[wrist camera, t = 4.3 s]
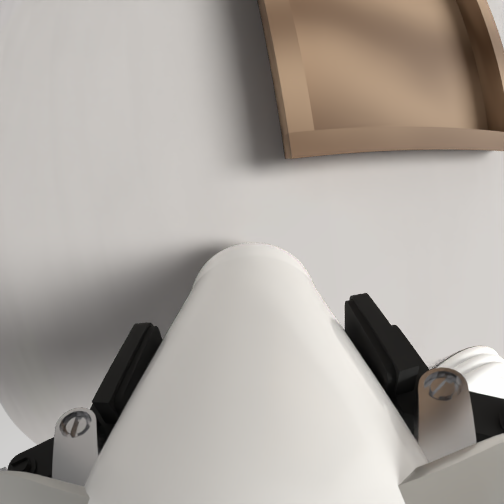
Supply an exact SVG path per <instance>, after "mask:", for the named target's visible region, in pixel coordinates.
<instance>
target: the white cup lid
mask: <svg viewBox="0 0 504 504" xmlns="http://www.w3.org/2000/svg"><path fill="white" fill-rule="evenodd" d="M440 367H443V368H450V369H453V370H456V371H458V372H459V373H461V374H462V375H463V376H464V377H465V379H466V381H467V384H468V389H469V391H472V392H476V393H480V394H485V395H489V396H494V397H498V398H503V399H504V359H503V358H502V357H500V356H498V354H497V352H496V351H495V350H494V349H492V348H490V347H487V346H475V347H471V348H468V349H466V350H463V351H461V352H459V353H457V354H455V355H453V356H452V357H450V358H449V359H447V360H446V361H444V362H443V363H441V364H440V365H439V366H438V367H436V368H440Z"/></svg>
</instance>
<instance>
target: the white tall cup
mask: <svg viewBox="0 0 504 504" xmlns="http://www.w3.org/2000/svg"><path fill="white" fill-rule="evenodd" d="M427 463H430V462H429V460H428V458H427V457H426V455H425V453H424V452H423V450H422V448H421V447H420V445H419V444H418V442H417V440H416V439H415V437H414V435H413V434H412V432H411V430H410V429H409V427H408V426H407V424H406V423H405V421H404V419H403V418H402V416H401V415H400V413H399V412H398V410H397V409H396V407H395V406H394V404H393V402H392V401H391V399H390V398H389V396H388V395H387V393H386V392H385V390H384V389H383V387H382V386H381V384H380V383H379V381H378V380H377V378H376V377H375V375H374V374H373V372H372V371H371V369H370V368H369V366H368V365H367V363H366V362H365V360H364V359H363V357H362V356H361V354H360V353H359V351H358V350H357V348H356V347H355V345H354V344H353V342H352V341H351V339H350V338H349V336H348V335H347V333H346V332H345V330H344V329H343V328H342V326H341V325H340V323H339V322H338V320H337V319H336V317H335V316H334V314H333V313H332V311H331V310H330V308H329V307H328V305H327V304H326V302H325V301H324V299H323V298H322V296H321V295H320V293H319V292H318V290H317V289H316V287H315V285H314V283H313V281H312V279H311V277H310V275H309V273H308V271H307V270H306V268H305V267H304V266H303V265H302V263H301V262H300V261H299V260H298V259H297V258H295V257H294V256H293V255H292V254H290V253H289V252H287V251H285V250H283V249H281V248H279V247H277V246H273V245H270V244H265V243H254V242H251V243H242V244H237V245H234V246H231V247H228V248H226V249H224V250H222V251H220V252H219V253H217V254H215V255H214V256H213V257H212V258H210V259H209V260H208V261H207V262H206V263H205V265H204V266H203V267H202V268H201V270H200V271H199V273H198V275H197V277H196V279H195V281H194V284H193V286H192V289H191V292H190V294H189V295H188V297H187V299H186V301H185V302H184V304H183V306H182V307H181V309H180V311H179V313H178V314H177V316H176V318H175V320H174V321H173V323H172V325H171V326H170V328H169V330H168V332H167V333H166V335H165V337H164V339H163V340H162V342H161V344H160V345H159V347H158V349H157V351H156V352H155V354H154V356H153V358H152V359H151V361H150V363H149V365H148V366H147V368H146V370H145V372H144V373H143V375H142V377H141V379H140V380H139V382H138V384H137V386H136V387H135V389H134V391H133V393H132V394H131V396H130V398H129V400H128V402H127V403H126V405H125V407H124V409H123V411H122V412H121V414H120V416H119V418H118V420H117V421H116V423H115V425H114V427H113V429H112V431H111V432H110V434H109V436H108V438H107V440H106V442H105V444H104V446H103V447H102V449H101V451H100V453H99V455H98V457H97V459H96V461H95V463H94V465H93V467H92V469H91V471H90V473H89V475H88V477H87V479H86V481H85V484H84V487H85V489H86V492H87V494H88V495H89V497H90V499H89V502H88V504H405V502H404V499H403V497H402V495H401V492H400V490H399V487H398V485H399V484H401V483H402V481H403V480H404V479H405V478H406V477H407V476H408V475H410V474H411V473H412V472H413V470H414V469H415V468H416V467H419V466H422V465H425V464H427Z"/></svg>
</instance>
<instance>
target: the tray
mask: <svg viewBox="0 0 504 504" xmlns="http://www.w3.org/2000/svg"><path fill="white" fill-rule="evenodd" d="M258 5H259V10H260V15H261V20H262V25H263V30H264V35H265V40H266V45H267V50H268V56H269V61H270V67H271V72H272V78H273V84H274V90H275V96H276V102H277V108H278V114H279V120H280V127H281V133H282V140H283V147H284V153H285V159H294V158H303V157H312V156H322V155H333V154H345V153H359V152H374V151H394V150H433V149H456V150H492V151H504V49H503V45H502V42H501V39H500V36H499V33H498V30H497V27H496V24H495V21H494V18H493V16H492V13H491V10H490V8H489V5H488V3H487V0H258Z"/></svg>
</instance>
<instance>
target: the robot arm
mask: <svg viewBox="0 0 504 504" xmlns="http://www.w3.org/2000/svg"><path fill="white" fill-rule="evenodd" d="M345 332H346V333H347V335H348V336H349V338H350V339H351V341H352V342H353V344H354V345H355V347H356V348H357V350H358V351H359V353H360V354H361V356H362V357H363V359H364V360H365V362H366V363H367V365H368V366H369V368H370V369H371V371H372V372H373V374H374V375H375V377H376V378H377V380H378V381H379V383H380V384H381V386H382V387H383V389H384V390H385V392H386V393H387V395H388V396H389V398H390V399H391V401H392V402H393V404H394V406H395V407H396V409H397V410H398V412H399V413H400V415H401V416H402V418H403V419H404V421H405V423H406V424H407V426H408V427H409V429H410V430H411V432H412V434H413V435H414V437H415V439H416V440H417V442H418V444H419V445H420V447H421V448H422V450H423V452H424V453H425V455H426V457H427V458H428V460H429V462H430V463H427V464H425V465H422V466H419V467H416V468H415V469H414V470H413V472H412V473H411V474H410V475H408V476H407V477H406V478H405V479H404V480H403V481H402V483H401V484H399V485H398V487H399V490H400V492H401V495H402V497H403V499H404V502H405V504H504V399H503V398H498V397H494V396H489V395H485V394H480V393H476V392H472V391H469V389H468V384H467V381H466V379H465V377H464V376H463V375H462V374H461V373H459V372H458V371H456V370H453V369H450V368H443V367H440V368H434V369H431V370H429V369H428V367H427V366H426V364H425V363H424V362H423V360H422V359H421V357H420V356H419V355H418V353H417V352H416V350H415V349H414V348H413V346H412V345H411V344H410V342H409V341H408V340H407V338H406V337H405V335H404V334H403V333H402V331H401V330H400V329H399V328H398V327H397V326H396V325H391V324H390V323H389V322H388V320H387V319H386V318H385V316H384V315H383V314H382V312H381V311H380V309H379V308H378V307H377V305H376V304H375V303H374V301H373V300H372V299H371V298H370V296H369V295H368V294H367V293H364V294H358V295H353V296H351V297H350V300H349V301H345ZM161 342H162V338H161V335H160V332H159V329H158V327H157V326H153V325H152V323H139V324H135V325H134V326H133V328H132V330H131V331H130V333H129V335H128V337H127V338H126V340H125V342H124V344H123V345H122V347H121V349H120V351H119V352H118V354H117V356H116V358H115V360H114V361H113V363H112V365H111V367H110V369H109V370H108V372H107V374H106V376H105V378H104V380H103V382H102V383H101V385H100V387H99V389H98V391H97V393H96V395H95V397H94V398H93V400H92V403H93V404H92V406H91V408H90V409H88V408H83V407H81V408H74V409H71V410H69V411H67V412H66V413H64V414H63V415H62V416H61V417H60V418H59V420H58V421H57V423H56V427H55V435H54V437H53V438H51V439H49V440H47V441H45V442H43V443H41V444H39V445H37V446H35V447H33V448H30V449H28V450H26V451H24V452H22V453H20V454H18V455H16V456H15V457H14V458H13V459H12V460H11V462H10V463H9V466H8V469H7V468H6V467H4V468H2V469H0V504H88V502H89V499H90V497H89V495H88V494H87V492H86V489H85V487H84V484H85V481H86V479H87V477H88V475H89V473H90V471H91V469H92V467H93V465H94V463H95V461H96V459H97V457H98V455H99V453H100V451H101V449H102V447H103V446H104V444H105V442H106V440H107V438H108V436H109V434H110V432H111V431H112V429H113V427H114V425H115V423H116V421H117V420H118V418H119V416H120V414H121V412H122V411H123V409H124V407H125V405H126V403H127V402H128V400H129V398H130V396H131V394H132V393H133V391H134V389H135V387H136V386H137V384H138V382H139V380H140V379H141V377H142V375H143V373H144V372H145V370H146V368H147V366H148V365H149V363H150V361H151V359H152V358H153V356H154V354H155V352H156V351H157V349H158V347H159V345H160V344H161Z"/></svg>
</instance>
